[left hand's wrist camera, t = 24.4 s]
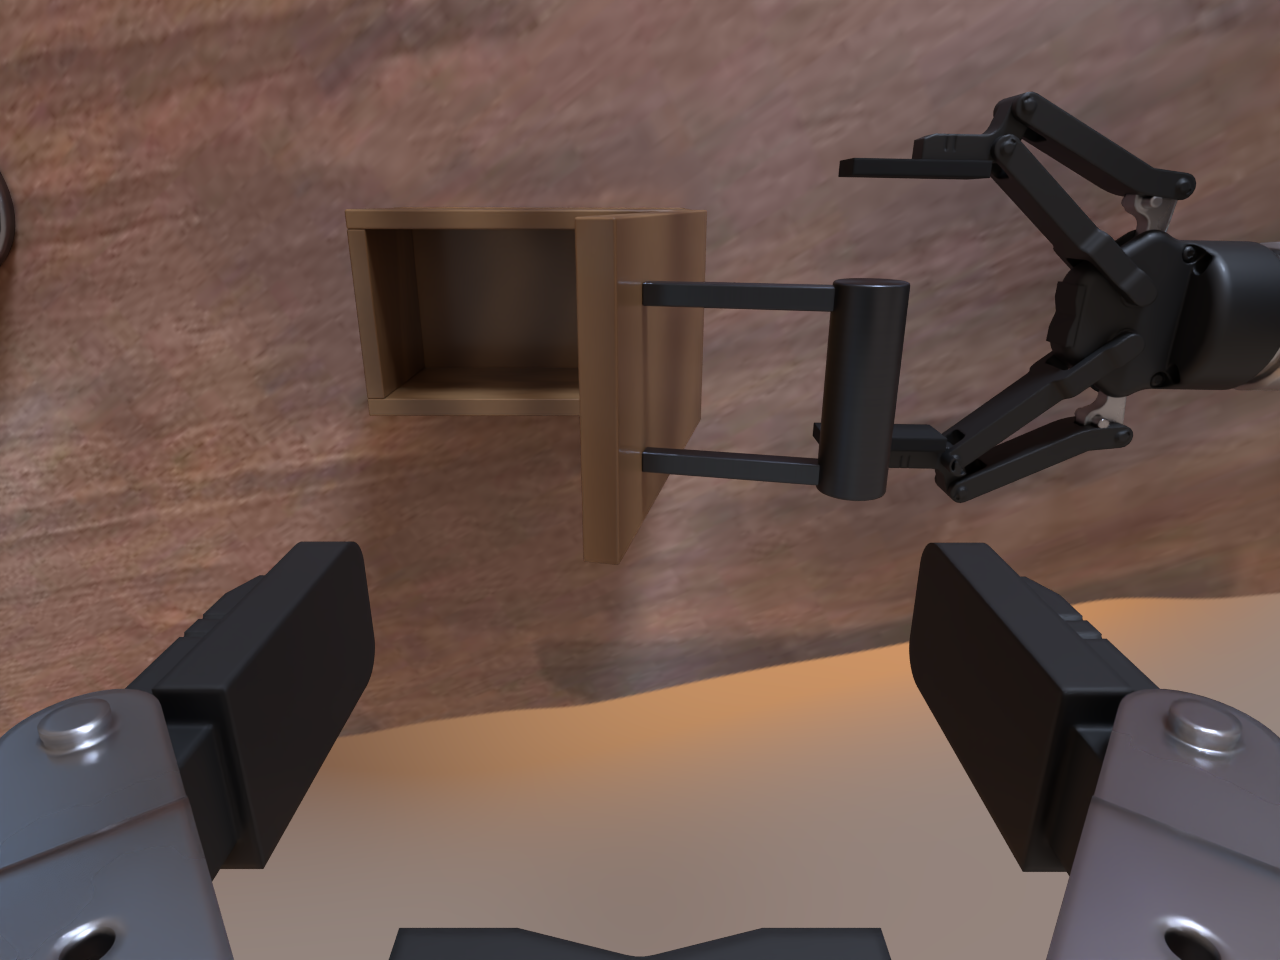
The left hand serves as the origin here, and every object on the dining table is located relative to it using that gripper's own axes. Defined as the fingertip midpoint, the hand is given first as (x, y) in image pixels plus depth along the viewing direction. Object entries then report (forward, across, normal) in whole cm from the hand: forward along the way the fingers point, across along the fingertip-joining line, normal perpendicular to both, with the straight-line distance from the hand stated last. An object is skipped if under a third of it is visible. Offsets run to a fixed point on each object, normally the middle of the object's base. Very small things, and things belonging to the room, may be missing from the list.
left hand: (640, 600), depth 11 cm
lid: (+20, 0, 0) cm, 20 cm away
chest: (+37, +6, 0) cm, 37 cm away
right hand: (+30, -10, 0) cm, 32 cm away
